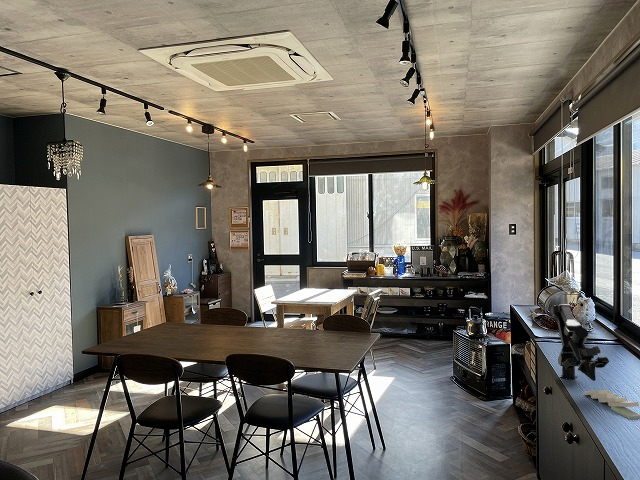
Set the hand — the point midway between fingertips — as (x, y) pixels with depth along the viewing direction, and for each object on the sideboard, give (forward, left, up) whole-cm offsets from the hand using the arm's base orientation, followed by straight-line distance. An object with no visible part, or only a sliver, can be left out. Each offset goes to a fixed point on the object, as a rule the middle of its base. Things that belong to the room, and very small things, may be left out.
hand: (594, 380), depth 219 cm
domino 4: (+7, +9, -6) cm, 13 cm away
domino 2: (+1, +1, -6) cm, 7 cm away
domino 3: (+4, +5, -6) cm, 9 cm away
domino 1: (-1, -2, -6) cm, 7 cm away
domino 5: (+9, +11, -7) cm, 16 cm away
